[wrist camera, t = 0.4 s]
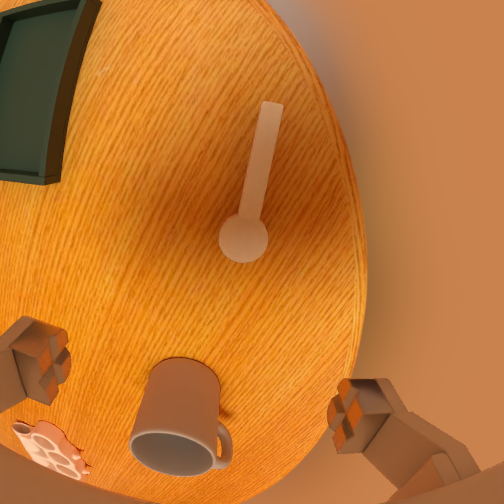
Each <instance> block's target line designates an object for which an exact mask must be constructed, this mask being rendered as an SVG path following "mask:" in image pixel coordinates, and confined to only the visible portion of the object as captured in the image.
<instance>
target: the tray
mask: <svg viewBox="0 0 504 504" xmlns="http://www.w3.org/2000/svg"><path fill="white" fill-rule="evenodd" d="M101 4H102V2H101V1H100V0H42V1H38V2H34V3H30V4H26V5H23V6H19V7H16V8H13V9H10V10H7V11H4V12H1V13H0V180H3V181H11V182H20V183H28V184H35V185H43V186H44V185H48V184H52V183H56V182H60V176H61V167H62V158H63V151H64V144H65V137H66V131H67V125H68V119H69V114H70V109H71V104H72V99H73V95H74V90H75V86H76V82H77V78H78V74H79V70H80V67H81V63H82V59H83V56H84V53H85V49H86V46H87V43H88V40H89V37H90V34H91V31H92V28H93V25H94V22H95V19H96V17H97V14H98V11H99V9H100V6H101Z"/></svg>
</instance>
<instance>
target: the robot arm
mask: <svg viewBox="0 0 504 504" xmlns="http://www.w3.org/2000/svg"><path fill="white" fill-rule="evenodd" d="M68 342H69V341H68V335H67V332H66V331H65V330H64V329H62V328H59V327H56V326H53V325H51V324H48V323H45V322H43V321H40V320H37V319H34V318H31V317H29V316H22V317H21V318H20V319H19V320H18V321H17V322H15V323H14V324H13V325H12V326H11V327H10V328H9V329H8V330H7V331H6V332H5V333H4V334H3V335H2V336H1V337H0V413H1V412H3V411H5V410H7V409H9V408H10V407H12V406H14V405H16V404H17V403H19V402H21V401H23V400H25V399H26V398H27V397H28V398H31V399H33V400H36V401H38V402H41V403H43V404H46V405H48V406H50V405H51V403H52V402H53V400H54V398H55V397H56V395H57V394H58V392H59V390H58V386H57V385H59V384H61V383H64V382H65V381H66V379H67V377H68V375H69V372H70V368H71V355H70V352H69V351H68V350H67V348H66V347H65V346H66V344H67V343H68ZM337 389H338V392H339V394H337V395H336V396H335V397H333V398H332V399H331V401H330V404H329V406H328V411H327V421H328V424H329V427H330V428H331V429H332V430H334V431H335V434H334V436H333V441H334V444H335V447H336V451H337V454H344V453H345V454H346V453H362V454H363V455H364V456H365V457H366V458H367V459H368V460H369V461H370V462H371V463H372V464H373V465H374V466H375V467H376V468H377V469H378V470H379V471H380V472H381V473H382V474H383V475H384V476H385V477H386V478H387V479H388V480H389V481H390V482H391V483H392V484H394V485H395V486H396V487H397V488H398V489H399V490H398V491H397V492H395V493H394V494H393V495H392V496H391V497H390V498H389V500H388V501H387V502H385V503H380V504H504V461H503V462H501V463H499V464H497V465H495V466H493V467H491V468H488V469H486V470H484V471H482V472H481V471H480V469H479V467H478V466H477V464H476V462H475V461H474V459H473V457H472V456H471V454H470V453H469V451H468V449H467V448H466V446H465V445H464V444H462V443H461V442H459V441H457V440H455V439H454V438H452V437H451V436H449V435H448V434H446V433H444V432H443V431H441V430H440V429H438V428H437V427H435V426H433V425H432V424H430V423H429V422H427V421H426V420H424V419H422V418H421V417H419V416H418V415H416V414H415V413H413V412H408V411H407V409H406V407H405V405H404V404H403V402H402V401H401V399H400V397H399V395H398V394H397V392H396V390H395V389H394V387H393V385H392V384H391V382H390V381H389V380H388V379H385V378H383V379H382V378H381V379H349V378H343V380H342V381H341V382H340V383H339V385H338V387H337ZM0 504H160V503H155V502H150V501H146V500H142V499H137V498H133V497H130V496H126V495H122V494H119V493H115V492H112V491H108V490H105V489H102V488H99V487H96V486H93V485H90V484H87V483H84V482H82V481H79V480H76V479H73V478H71V477H68V476H66V475H63V474H61V473H59V472H56V471H54V470H52V469H49V468H47V467H45V466H43V465H40V464H38V463H36V462H34V461H32V460H30V459H28V458H26V457H24V456H22V455H20V454H18V453H16V452H14V451H13V450H11V449H9V448H7V447H5V446H4V445H2V444H0Z"/></svg>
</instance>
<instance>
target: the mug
mask: <svg viewBox="0 0 504 504" xmlns="http://www.w3.org/2000/svg"><path fill="white" fill-rule="evenodd" d="M219 400H220V384H219V380H218V378H217V377H216V375H215V374H214V373H213V371H212V370H210V369H209V368H208V367H207V366H205V365H204V364H202V363H200V362H197V361H195V360H191V359H187V358H171V359H167V360H164V361H162V362H160V363H159V364H157V365H156V366H155V367H154V368H153V370H152V371H151V373H150V376H149V379H148V382H147V386H146V389H145V392H144V395H143V398H142V401H141V404H140V408H139V411H138V414H137V417H136V420H135V423H134V426H133V430H132V433H131V436H130V440H129V448H130V451H131V453H132V454H133V456H134V457H135V458H136V459H137V460H138V461H139V462H140V463H142V464H143V465H145V466H146V467H148V468H150V469H152V470H154V471H157V472H160V473H163V474H166V475H171V476H179V477H191V476H197V475H201V474H204V473H206V472H208V471H210V470H211V469H212V468H214V469H224V468H226V467H227V466H228V465H229V464H230V462H231V459H232V454H233V446H232V439H231V435H230V433H229V431H228V429H227V428H226V427H225V426H224V425H223V424H222V423H221V422H219V421H218V415H219ZM217 436H218V437H219V438H220V441H221V446H222V454H221V458H220V457H218V456H217Z"/></svg>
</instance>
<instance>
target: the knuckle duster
mask: <svg viewBox="0 0 504 504" xmlns="http://www.w3.org/2000/svg"><path fill="white" fill-rule="evenodd" d="M12 427H13V430H14V431H15V433H16V434H17V436H18V437H19V439H20V440H21V442H22V444H23V446H24V447H25V449H26V450H27V451H28V453H29V454H30V456H31V457H32V458H33V460H34V462H36V463H38V464H40V465H43V466H45V467H47V468H49V469H52V470H54V471H56V472H59V473H61V474H63V475H66V476H68V477H71V478H73V479H76V480H79V481H82V482H84V480H85V477H86V474H91V473H90V472H89V471H88V470H87V469H86V465H85V461H83V460H82V458H81V456H80V452H79V451H78V450H77V449H76V447H75V446H73V445H72V444H71V443H70V442H69V441H68V440H67V439H66V438H65V436H64V433H63V432H62V431H61V430H60V429H59V428H57V427H56V426H55V425H53V424H51V423H49V422H46V421H39V422H38V423H37V425H36V427H33V426H30V425H27V424H24V423H14V424H13V426H12Z"/></svg>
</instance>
